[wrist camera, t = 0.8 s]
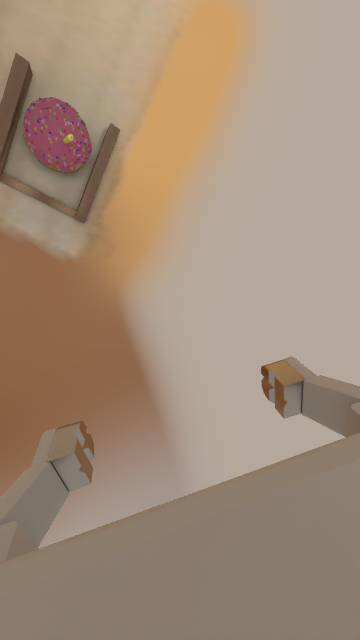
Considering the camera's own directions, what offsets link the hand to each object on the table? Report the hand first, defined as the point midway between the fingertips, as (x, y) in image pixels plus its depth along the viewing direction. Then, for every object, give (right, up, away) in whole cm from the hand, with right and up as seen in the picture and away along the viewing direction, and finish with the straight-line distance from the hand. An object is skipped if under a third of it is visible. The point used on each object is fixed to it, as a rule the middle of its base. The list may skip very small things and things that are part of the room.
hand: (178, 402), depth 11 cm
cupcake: (-19, +31, +27) cm, 46 cm away
